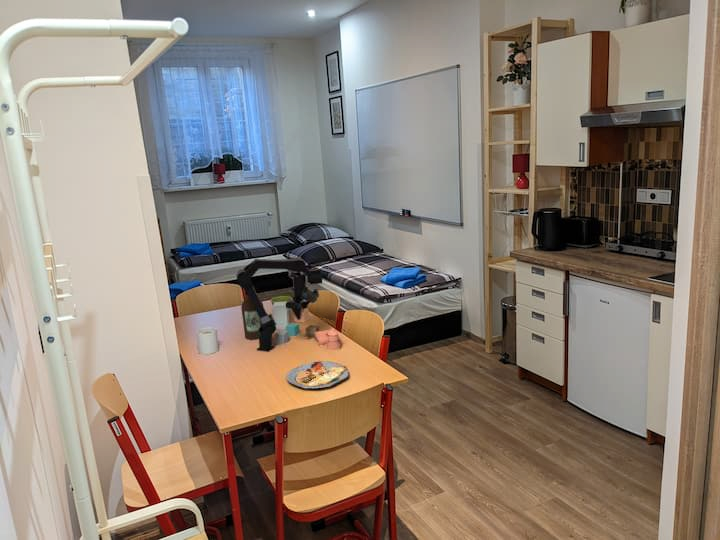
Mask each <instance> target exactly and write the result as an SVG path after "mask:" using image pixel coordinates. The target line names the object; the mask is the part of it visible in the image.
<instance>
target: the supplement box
mask: <svg viewBox="0 0 720 540" xmlns="http://www.w3.org/2000/svg"><path fill="white" fill-rule="evenodd" d="M286 303H287V302H275V303H274V304H273V305H272V317H273V319H274V320H275V322H276V325H275V326H276V330H286V327H285V326H287V325H288V324H290V323H291V322H290V318H289V308H286Z"/></svg>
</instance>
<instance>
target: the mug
mask: <svg viewBox="0 0 720 540" xmlns="http://www.w3.org/2000/svg"><path fill="white" fill-rule="evenodd" d="M196 337H197V338H196V339H197V346H198V353H199V354H200V355H212V353H213V354H215V352H216V353H217V352H219V348H220V347H219V340H218V339H219V338H218V329H217V328H216V327H203V328H200V329H198V330H197V331H196Z"/></svg>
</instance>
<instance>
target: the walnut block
mask: <svg viewBox="0 0 720 540" xmlns="http://www.w3.org/2000/svg"><path fill="white" fill-rule="evenodd" d="M318 331H321V329H320V325H313V324H310V325H308V326H307V327H306V328H305V338H306V337H308V338H307V339H312V338H315V332H318Z"/></svg>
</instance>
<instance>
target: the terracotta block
mask: <svg viewBox="0 0 720 540" xmlns="http://www.w3.org/2000/svg"><path fill="white" fill-rule="evenodd" d="M309 313H310V312H309V308H307V309H306V308H301V316H300V320H298V319H297V317H296V316H295V314H294V313H293V316H294V317H293V318H294V320H293V321H294V322H296V323H297V322H298V323H305V322H306V321H308V320H310V315H309Z"/></svg>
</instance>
